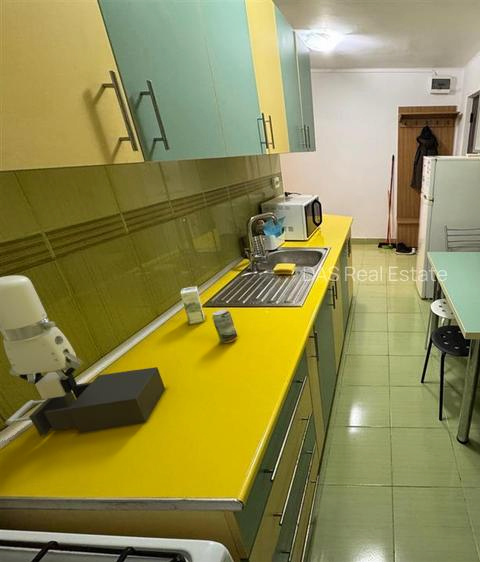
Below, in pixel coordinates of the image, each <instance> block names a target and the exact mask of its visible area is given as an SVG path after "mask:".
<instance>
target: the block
mask: <svg viewBox="0 0 480 562" xmlns="http://www.w3.org/2000/svg"><path fill="white" fill-rule="evenodd" d="M63 371H64V372H66V371H65V370H63ZM43 376H44V377H43V378H42V379H41V380H40V381H38V382H37V383H36V384H35V386H34V387H36V388H37V390H38V391H37V390H36V391H37V393H38V392H39V393H38V395H39V394H40V395H39V397H40V396H41V397H40V398H41V400H47V399H48V398H54V397H62V396H65V395H66V394H67V393H65V391H64V389H63V387H62V385H61V383H60V380H62V379H61V378H60V377H59V375H58V374H57V373H56V372H55V371H50V372H47V373H46V374H45V375H43ZM36 388H35V389H36Z"/></svg>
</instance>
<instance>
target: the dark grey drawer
mask: <svg viewBox="0 0 480 562" xmlns="http://www.w3.org/2000/svg"><path fill="white" fill-rule="evenodd" d="M92 382H93V381H90V382H83V383H77V385H76V387H75V388H74V389H73V390H72V391H71V392H70V393H67V394H66V395H65V396H62V397H54V398H47V399H40V400H34V399H29V400H30V401H29V400H28V401H29V402H28V401H26V403H25V404H23V406H21V407H20V408H19V409H18V410H17V411H16V412H14V413H13V414H12V415H11V416H10V417H9V418H8V419H7V420H6V421H5V423H4V424H5V425H6V426H12V425H13V424H15V423H21V422H27V421H31V422H32V424H33V427H34V428H35V429H36V431H37V433H38V435H39V436H47V434H48V433H49V432H50V431H51V430H53V431H59V430H66V429H71V428H77V427H76V425H75V423H74V421H73V419H72V417H71V416H70V414H69V411H68V410H67V409H68V408H69V407H70V406H71V404H72V403H73V402H74V401H75V400H76V399H77V398H78V397H79V396H80V395H81V394H82V393H83V391H84V390H85V389H86V388H87V387H88V386H89V385H90V384H91V383H92ZM39 404H40V405H39ZM34 405H39V406H38V407H37V408H36V409H35V410H34V411H32V413H31V414H30V415H29V416H26V417H25V416H24V417H22V416H23V415H24V414H25V413H26V412H27V411H28V410H29V409H30V408H32V407H33V406H34Z"/></svg>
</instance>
